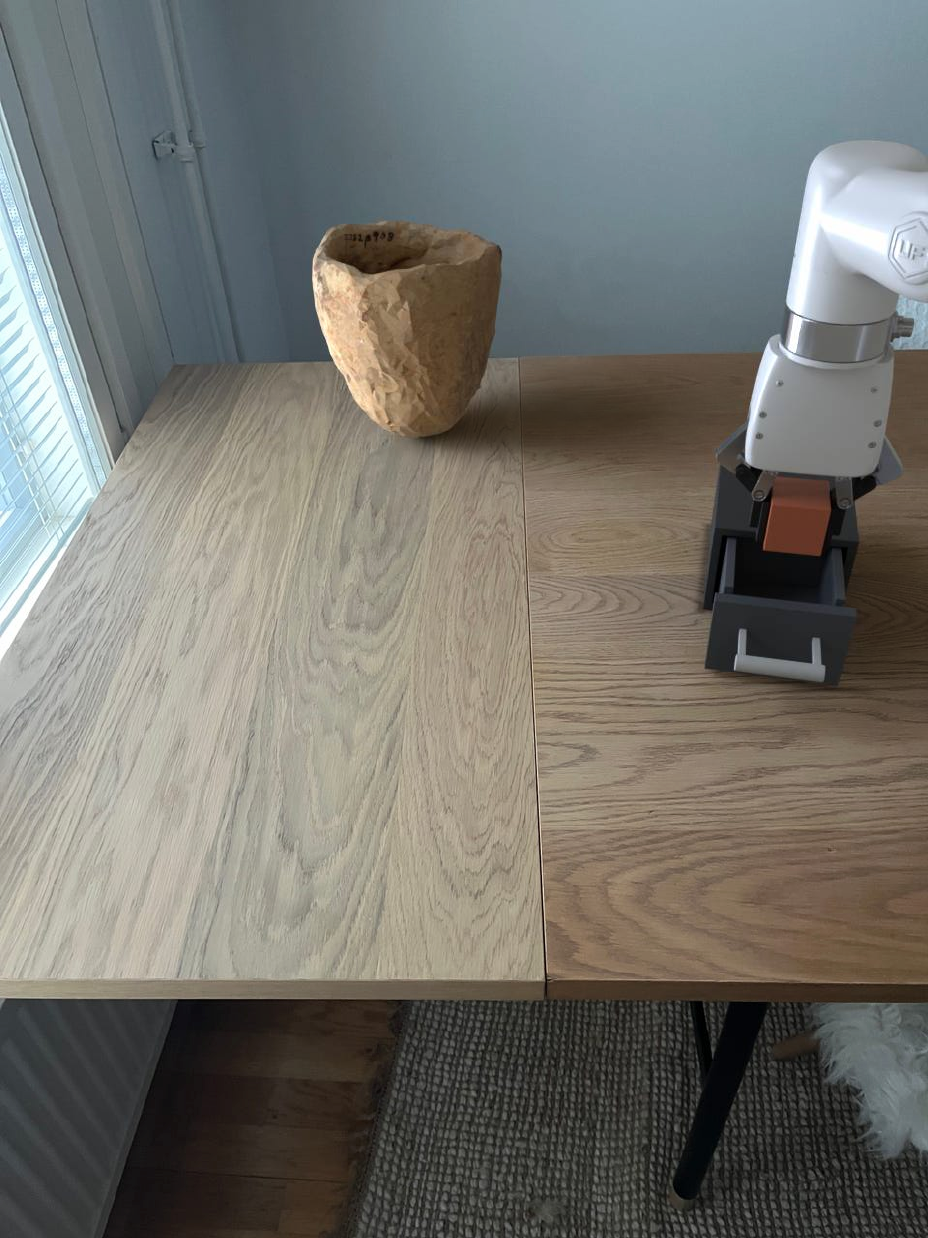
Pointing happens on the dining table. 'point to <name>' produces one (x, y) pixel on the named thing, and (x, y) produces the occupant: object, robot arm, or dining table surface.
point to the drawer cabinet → (734, 521)
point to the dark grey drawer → (780, 614)
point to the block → (798, 516)
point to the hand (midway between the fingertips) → (792, 534)
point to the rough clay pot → (408, 318)
